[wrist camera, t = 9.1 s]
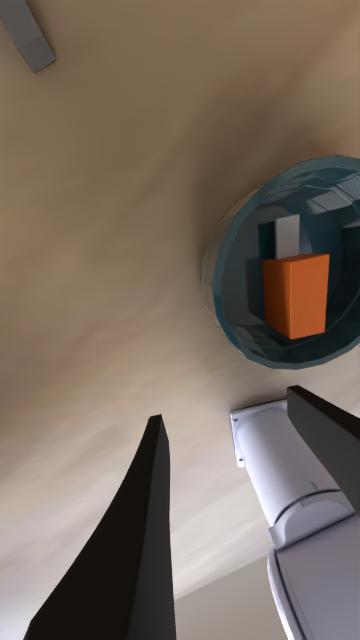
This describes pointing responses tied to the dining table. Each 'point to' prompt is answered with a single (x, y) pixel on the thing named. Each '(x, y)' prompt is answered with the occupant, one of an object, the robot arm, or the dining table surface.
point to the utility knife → (294, 284)
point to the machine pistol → (26, 33)
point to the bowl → (314, 238)
